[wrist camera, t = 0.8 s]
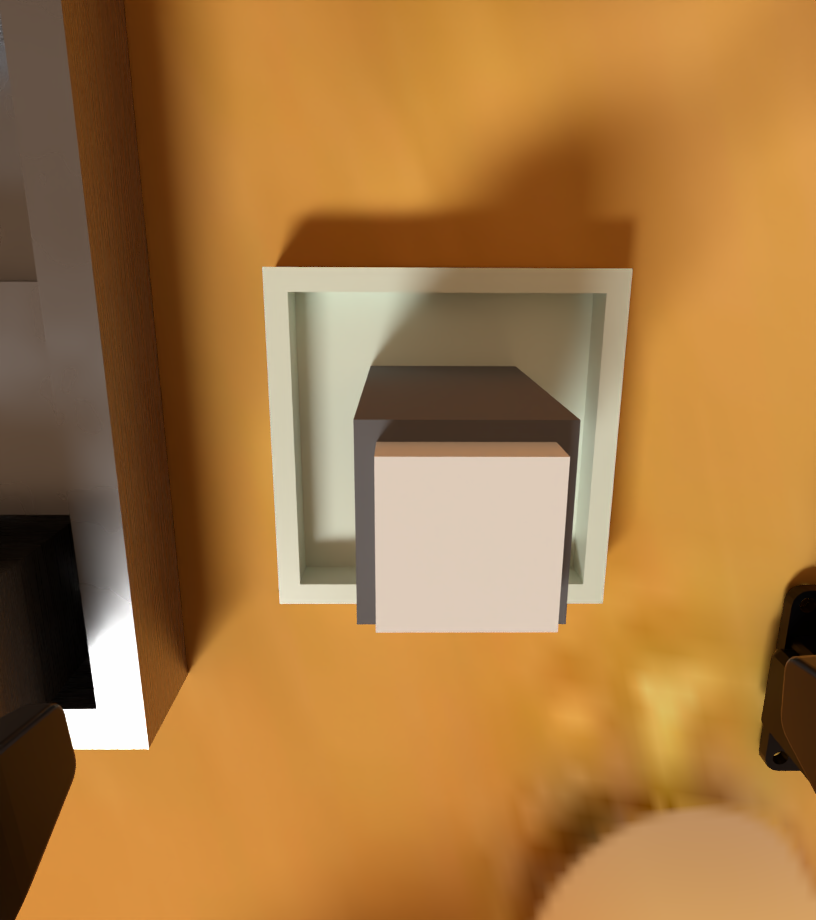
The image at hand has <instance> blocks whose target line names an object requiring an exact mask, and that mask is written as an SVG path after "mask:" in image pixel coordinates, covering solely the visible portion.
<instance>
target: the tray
mask: <svg viewBox="0 0 816 920" xmlns="http://www.w3.org/2000/svg"><path fill="white" fill-rule="evenodd" d="M262 272H263V292H264V311H265V330H266V349H267V369H268V388H269V407H270V426H271V446H272V465H273V484H274V503H275V523H276V542H277V561H278V580H279V600H280V604H357V593H356V538H355V483H354V428H353V419H354V416H355V413H356V410H357V407H358V404H359V400H360V397H361V394H362V391H363V388H364V385H365V382H366V379H367V376H368V372H369V369H370V366H516V367H517V368H518V369H520V370H521V371H522V372H523V373H524V374H526V375H527V376H528V377H529V378H531V379H532V380H533V381H534V382H535V383H537V384H538V385H539V386H540V387H541V388H543V389H544V390H545V391H546V392H547V393H549V394H550V395H551V396H552V397H553V398H555V399H556V400H557V401H558V402H559V403H561V404H562V405H563V406H564V407H566V408H567V409H568V410H569V411H570V412H572V413H573V414H574V415H575V416H576V417H578V418H579V419H580V420H581V422H580V436H579V449H578V463H577V476H576V489H575V503H574V516H573V530H572V543H571V557H570V570H569V584H568V597H567V603H603V594H604V583H605V572H606V561H607V550H608V538H609V527H610V516H611V505H612V494H613V483H614V472H615V461H616V450H617V438H618V427H619V416H620V405H621V394H622V383H623V372H624V361H625V349H626V338H627V327H628V316H629V305H630V294H631V283H632V272H633V268H401V267H262Z"/></svg>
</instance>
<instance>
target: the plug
mask: <svg viewBox="0 0 816 920" xmlns="http://www.w3.org/2000/svg"><path fill="white" fill-rule="evenodd" d="M580 422H581V420H580V419H579V418H578V417H576V416H575V415H574V414H573V413H572V412H570V411H569V410H568V409H567V408H566V407H564V406H563V405H562V404H561V403H559V402H558V401H557V400H556V399H555V398H553V397H552V396H551V395H550V394H549V393H547V392H546V391H545V390H544V389H543V388H541V387H540V386H539V385H538V384H537V383H535V382H534V381H533V380H532V379H531V378H529V377H528V376H527V375H526V374H524V373H523V372H522V371H521V370H520V369H518V368H517V367H516V366H370V369H369V372H368V376H367V379H366V382H365V385H364V388H363V391H362V394H361V397H360V400H359V404H358V407H357V410H356V413H355V416H354V419H353V428H354V483H355V538H356V593H357V624H376V632H558V624H566V611H567V597H568V584H569V570H570V557H571V543H572V530H573V516H574V503H575V489H576V476H577V463H578V449H579V436H580Z"/></svg>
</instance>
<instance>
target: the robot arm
mask: <svg viewBox="0 0 816 920" xmlns="http://www.w3.org/2000/svg"><path fill="white" fill-rule="evenodd" d="M806 598H809V600H808V602H807V604H805V605H804V606H801V607H800V603H801V602H802V601H803V600H804V599H806ZM761 720H762V723H763V729H762V735H761V741H760V747H759V755H760V756H761V758H762V759H763V761H764V762H765V763H766V765H767V766H768V767H769V768H771V769H772V770H777V771H801V772H802V773H803V774H804V776H805V777H806V778H807V779H808V781H809V782H810V784H811V786H812V787H813V789H814V791H815V793H816V585H798V586H795V587H794V588H792V589H791V590H790V591H789V592H788V593H787V594H786V597H785V600H784V606H783V612H782V617H781V623H780V629H779V635H778V641H777V647H776V651H775V652H774V654H773V655H772V659H771V664H770V670H769V676H768V682H767V688H766V694H765V700H764V706H763V712H762V718H761ZM780 751H781V752H780ZM777 752H780V753H779V754H778V755H776V756H774V754H776V753H777ZM75 768H76V759H75V753H74V749H73V745H72V741H71V737H70V732H69V728H68V724H67V720H66V716H65V713H64V710H63V709H62V707H61V706H60V705H58V704H56V703H41V704H27V705H23V706H21V707H19V708H17V709H15V710H13V711H12V712H10V713H8V714H6V715H4V716H2V717H0V920H15V919H16V917H17V915H18V912H19V910H20V908H21V906H22V904H23V902H24V900H25V898H26V895H27V893H28V891H29V888H30V886H31V884H32V881H33V879H34V876H35V874H36V871H37V869H38V866H39V864H40V861H41V859H42V856H43V854H44V851H45V849H46V846H47V844H48V841H49V839H50V836H51V834H52V831H53V829H54V826H55V824H56V821H57V819H58V816H59V814H60V811H61V809H62V806H63V804H64V801H65V799H66V796H67V794H68V791H69V789H70V786H71V784H72V781H73V778H74V774H75Z"/></svg>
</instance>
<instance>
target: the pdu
mask: <svg viewBox="0 0 816 920" xmlns="http://www.w3.org/2000/svg"><path fill="white" fill-rule="evenodd" d="M187 675H188V672H187V661H186V651H185V640H184V630H183V619H182V609H181V598H180V588H179V577H178V567H177V556H176V546H175V535H174V525H173V514H172V504H171V493H170V483H169V472H168V462H167V451H166V441H165V430H164V420H163V409H162V399H161V388H160V378H159V367H158V357H157V346H156V336H155V325H154V315H153V304H152V294H151V284H150V273H149V263H148V252H147V242H146V231H145V221H144V210H143V200H142V189H141V179H140V168H139V158H138V147H137V137H136V126H135V116H134V105H133V95H132V84H131V74H130V63H129V53H128V42H127V32H126V21H125V11H124V0H0V717H2V716H4V715H6V714H8V713H10V712H12V711H13V710H15V709H17V708H19V707H21V706H23V705H27V704H41V703H56V704H58V705H60V706H61V707H62V709H63V710H64V713H65V716H66V720H67V724H68V728H69V732H70V737H71V741H72V745H73V749H149V747H150V745H151V743H152V742H153V740H154V738H155V736H156V734H157V732H158V730H159V728H160V726H161V724H162V723H163V721H164V719H165V717H166V715H167V713H168V711H169V709H170V707H171V706H172V704H173V702H174V700H175V698H176V696H177V694H178V692H179V690H180V689H181V687H182V685H183V683H184V681H185V679H186V677H187Z"/></svg>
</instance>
